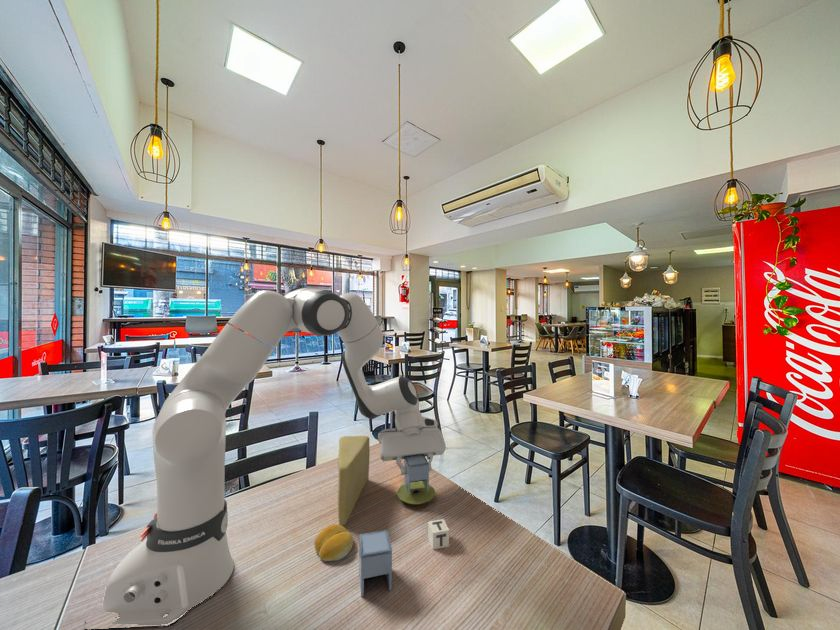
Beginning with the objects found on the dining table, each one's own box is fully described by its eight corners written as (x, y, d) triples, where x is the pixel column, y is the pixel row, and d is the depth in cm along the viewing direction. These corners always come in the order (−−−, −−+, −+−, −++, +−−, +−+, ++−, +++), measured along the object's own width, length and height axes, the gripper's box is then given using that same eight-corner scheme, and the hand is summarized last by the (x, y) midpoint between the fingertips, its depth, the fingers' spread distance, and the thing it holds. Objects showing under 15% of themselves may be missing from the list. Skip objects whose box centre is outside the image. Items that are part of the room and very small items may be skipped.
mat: (429, 514, 85) (429, 506, 85) (391, 505, 88) (391, 499, 88) (439, 491, 95) (439, 484, 95) (405, 484, 99) (405, 478, 99)
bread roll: (326, 570, 67) (326, 551, 67) (310, 545, 73) (310, 529, 73) (360, 550, 72) (360, 533, 72) (342, 529, 79) (342, 514, 79)
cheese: (361, 526, 80) (361, 468, 80) (322, 527, 79) (322, 469, 79) (369, 479, 102) (369, 434, 102) (339, 480, 101) (339, 434, 101)
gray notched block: (361, 596, 60) (361, 556, 60) (359, 571, 66) (359, 534, 66) (391, 590, 62) (392, 550, 62) (387, 565, 67) (387, 529, 67)
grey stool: (408, 494, 88) (408, 466, 88) (404, 482, 94) (404, 456, 94) (428, 491, 90) (428, 463, 89) (423, 480, 95) (423, 454, 95)
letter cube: (432, 550, 72) (433, 532, 72) (428, 537, 76) (428, 521, 76) (449, 547, 73) (449, 529, 73) (443, 534, 77) (443, 518, 77)
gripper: (378, 425, 95) (382, 473, 86) (441, 420, 101) (451, 464, 91) (376, 434, 100) (380, 480, 91) (437, 428, 105) (446, 471, 96)
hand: (416, 472), depth 91 cm, fingers closed on grey stool, 6 cm apart
